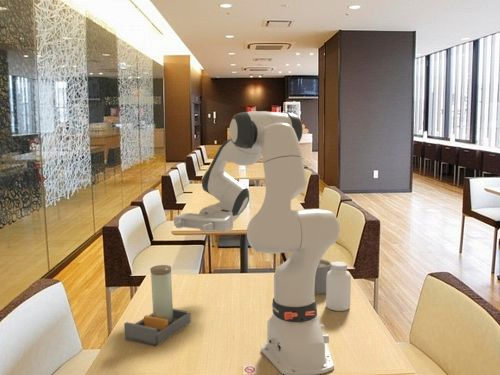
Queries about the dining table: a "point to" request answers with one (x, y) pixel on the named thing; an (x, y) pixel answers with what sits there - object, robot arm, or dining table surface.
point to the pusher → (155, 322)
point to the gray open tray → (153, 335)
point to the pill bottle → (338, 287)
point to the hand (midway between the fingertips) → (189, 227)
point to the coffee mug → (321, 276)
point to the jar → (162, 292)
